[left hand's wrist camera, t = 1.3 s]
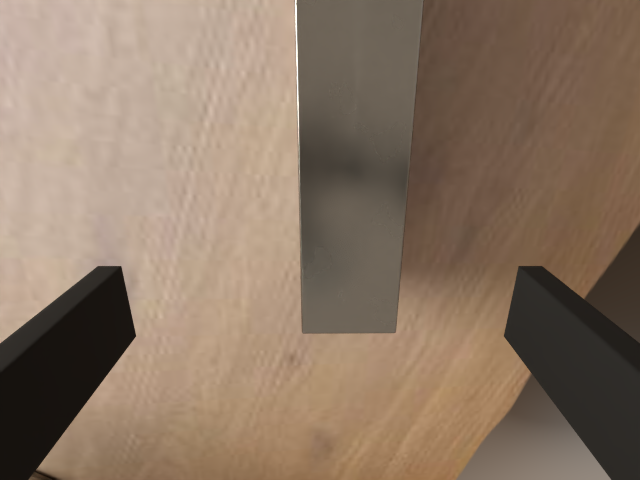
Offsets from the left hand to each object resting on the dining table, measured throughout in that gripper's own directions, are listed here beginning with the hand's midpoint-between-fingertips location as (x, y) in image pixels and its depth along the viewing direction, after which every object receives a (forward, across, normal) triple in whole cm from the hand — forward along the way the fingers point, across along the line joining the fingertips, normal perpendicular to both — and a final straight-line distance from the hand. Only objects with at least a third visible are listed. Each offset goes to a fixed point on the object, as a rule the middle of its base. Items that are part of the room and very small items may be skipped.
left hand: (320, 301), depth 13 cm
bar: (+16, -2, -6) cm, 17 cm away
